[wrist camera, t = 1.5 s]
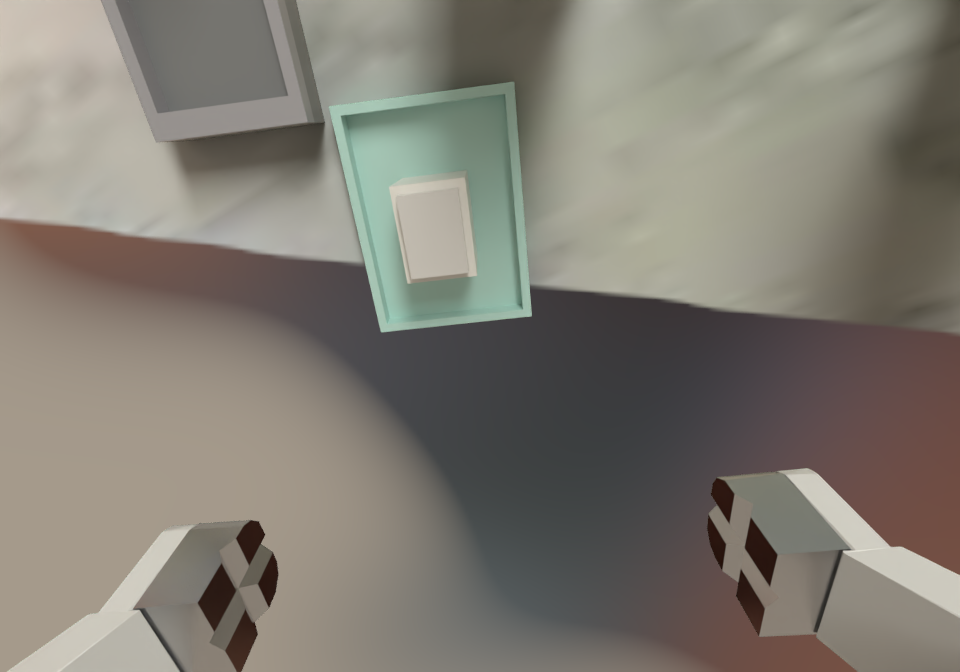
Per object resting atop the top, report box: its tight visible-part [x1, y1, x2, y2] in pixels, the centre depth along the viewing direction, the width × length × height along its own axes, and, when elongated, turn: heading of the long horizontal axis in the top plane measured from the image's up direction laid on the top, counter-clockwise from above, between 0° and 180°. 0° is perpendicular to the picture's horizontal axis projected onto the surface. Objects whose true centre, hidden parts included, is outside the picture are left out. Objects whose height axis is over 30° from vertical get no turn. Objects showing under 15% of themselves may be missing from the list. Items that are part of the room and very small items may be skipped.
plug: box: [389, 170, 478, 284], centre depth 30 cm, size 4×6×6 cm
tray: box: [329, 82, 532, 332], centre depth 32 cm, size 12×16×2 cm
